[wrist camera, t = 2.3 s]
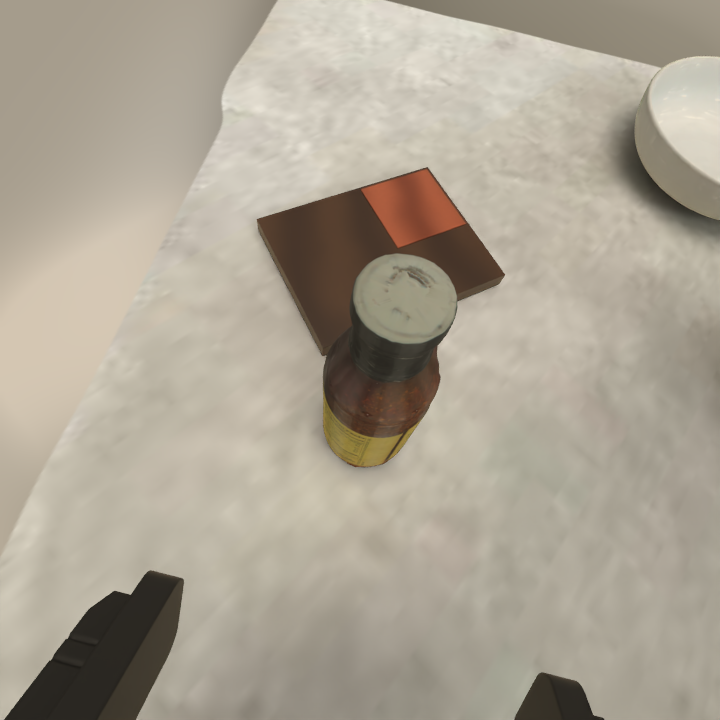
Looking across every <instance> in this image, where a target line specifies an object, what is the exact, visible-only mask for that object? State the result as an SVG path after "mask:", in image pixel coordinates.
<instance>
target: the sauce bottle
mask: <svg viewBox="0 0 720 720" xmlns="http://www.w3.org/2000/svg"><path fill="white" fill-rule="evenodd" d="M349 310H350V317H351V321H352V326H351V327H349V328H348V329H347V330H345V331H344V332H343V333H342V334H341V335H340V336H339V337H338V338H337V339H336V340H335V342H334V343H333V344H332V346H331V348H330V350H329V352H328V354H327V357H326V361H325V365H324V371H323V427H324V433H325V437H326V440H327V442H328V444H329V446H330V447H331V449H332V450H333V451H334V453H335V454H336V455H337V456H339V457H340V458H341V459H342V460H344V461H345V462H347V463H348V464H350V465H352V466H354V467H371V466H376V465H380V464H384V463H385V462H387V461H388V460H390V459H391V458H392V457H394V456H395V455H396V454H397V453H398V452H399V450H400V449H401V448H402V447H403V445H404V444H405V443H406V441H407V440H408V438H409V437H410V435H411V434H412V432H413V431H414V430H415V428H416V427H417V425H418V424H419V423H420V421H421V420H422V418H423V417H424V415H425V414H426V412H427V410H428V409H429V406H430V403H431V402H432V400H433V399H434V397H435V395H436V392H437V390H438V386H439V383H440V374H439V363H438V359H437V345H439V343H440V342H441V341H442V340H443V338H444V337H445V336H446V335H447V333H448V331H449V329H450V328H451V325H452V324H453V321H454V319H455V316H456V311H457V295H456V291H455V287H454V285H453V284H452V282H451V280H450V278H449V276H448V275H447V274H446V273H445V272H444V271H443V270H442V269H441V268H440V267H438V266H437V265H436V264H435V263H433V262H431V261H429V260H426V259H424V258H422V257H418V256H414V255H408V254H398V253H396V254H391V255H384V256H381V257H379V258H376V259H375V260H373V261H371V262H370V263H369V264H367V265H366V266H365V267H364V269H363V270H362V271H361V272H360V274H359V275H358V276H357V277H356V279H355V281H354V285H353V289H352V294H351V300H350V306H349Z"/></svg>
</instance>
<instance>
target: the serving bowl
mask: <svg viewBox="0 0 720 720" xmlns="http://www.w3.org/2000/svg"><path fill="white" fill-rule="evenodd" d="M635 142H636V147H637V151H638V154H639V157H640V159H641V162H642V164H643V165H644V167H645V169H646V171H647V172H648V174H649V175H650V176H651V178H652V179H653V180H654V181H655V182H656V183H657V184H658V186H659V187H660V188H661V189H662V190H663V191H665V192H666V193H667V194H668V195H669V196H670V197H672V198H673V199H674V200H676V201H677V202H679V203H680V204H682V205H684V206H685V207H687V208H689V209H691V210H693V211H695V212H697V213H699V214H702V215H704V216H707V217H710V218H713V219H716V220H720V57H713V56H697V57H689V58H684V59H680V60H677V61H674V62H672V63H670V64H668V65H666V66H665V67H663V68H662V69H661V70H660V71H658V72H657V74H656V75H655V76H654V77H653V79H652V80H651V82H650V84H649V86H648V87H647V89H646V91H645V93H644V95H643V98H642V100H641V102H640V105H639V108H638V111H637V115H636V120H635Z"/></svg>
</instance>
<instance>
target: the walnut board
mask: <svg viewBox="0 0 720 720" xmlns="http://www.w3.org/2000/svg"><path fill="white" fill-rule="evenodd" d="M257 224H258V230H259V232H260V234H261V236H262V238H263V240H264V242H265V244H266V246H267V248H268V250H269V252H270V254H271V256H272V258H273V260H274V262H275V264H276V266H277V268H278V270H279V272H280V274H281V275H282V277H283V279H284V281H285V283H286V285H287V287H288V289H289V291H290V293H291V295H292V297H293V299H294V301H295V303H296V305H297V307H298V309H299V311H300V313H301V315H302V317H303V319H304V320H305V322H306V324H307V326H308V328H309V330H310V332H311V334H312V336H313V338H314V340H315V342H316V344H317V346H318V348H319V350H320V352H321V354H322V356H324V355H326V354H328V352H329V350H330V348H331V346H332V344H333V343H334V342H335V340H336V339H337V338H338V337H339V336H340V335H341V334H342V333H343V332H344V331H345V330H347V329H348V328H349V327H351V326H352V321H351V317H350V310H349V306H350V300H351V294H352V289H353V285H354V281H355V279H356V277H357V276H358V275H359V274H360V272H361V271H362V270H363V269H364V267H365V266H366V265H367V264H369V263H370V262H371V261H373V260H375V259H376V258H379V257H381V256H384V255H391V254H396V253H398V254H408V255H414V256H418V257H422V258H424V259H426V260H429V261H431V262H433V263H435V264H436V265H437V266H438V267H440V268H441V269H442V270H443V271H444V272H445V273H446V274H447V275H448V276H449V278H450V280H451V282H452V284H453V285H454V287H455V291H456V295H457V301H459V300H461V299H464V298H466V297H468V296H471V295H473V294H476V293H478V292H481V291H483V290H486V289H488V288H490V287H493V286H495V285H498V284H499V283H500V282H501V280H502V279H503V277H504V276H505V274H504V273H503V271H502V270H501V268H500V267H499V266H498V264H497V263H496V261H495V260H494V259H493V257H492V256H491V254H490V253H489V252H488V250H487V249H486V248H485V246H484V245H483V243H482V242H481V241H480V239H479V238H478V236H477V235H476V234H475V232H474V231H473V230H472V228H471V227H470V225H469V224H468V223H467V221H466V220H465V218H464V217H463V216H462V214H461V213H460V211H459V210H458V209H457V207H456V206H455V205H454V203H453V202H452V200H451V199H450V198H449V196H448V195H447V193H446V192H445V191H444V189H443V188H442V187H441V185H440V184H439V182H438V181H437V180H436V178H435V177H434V175H433V174H432V173H431V171H430V170H429V169H428V167H427V168H423V169H420V170H417V171H413V172H410V173H407V174H404V175H400V176H397V177H394V178H390V179H387V180H384V181H381V182H377V183H374V184H371V185H367V186H364V187H361V188H358V189H354V190H351V191H348V192H344V193H341V194H338V195H335V196H331V197H328V198H325V199H321V200H318V201H315V202H312V203H308V204H305V205H302V206H299V207H295V208H292V209H289V210H285V211H282V212H279V213H276V214H272V215H269V216H266V217H262V218H259V219H257Z"/></svg>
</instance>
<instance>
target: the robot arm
mask: <svg viewBox="0 0 720 720" xmlns="http://www.w3.org/2000/svg"><path fill="white" fill-rule="evenodd" d="M183 586H184V580H183V578H179V577H175V576H171V575H167V574H163V573H159V572H155V571H148V572H147V573H146V574H145V575H144V577H143V578H142V579H141V581H140V582H139V584H138V585H137V587H136V588H135V590H134V591H133V593H132V594H131V595H129V594H125V593H121V592H117V591H113V592H112V593H111V594H109V595H108V596H106V597H105V598H104V599H102V600H101V601H100V602H98V603H97V604H95V605H94V606H93V607H91V608H90V609H89V610H88V611H87V612H86V614H85V615H84V616H83V617H82V619H81V620H80V621H79V623H78V624H77V625H76V627H75V628H74V629H73V631H72V632H71V633H70V636H69V638H68V639H66V640H65V641H64V642H63V644H62V645H61V646H60V648H59V649H58V650H57V651H56V653H55V654H54V656H53V658H52V660H51V661H49V662H48V663H47V664H46V666H45V667H44V668H43V670H42V671H41V672H40V674H39V675H38V676H37V678H36V679H35V680H34V681H33V683H32V684H31V685H30V687H29V688H28V689H27V691H26V692H25V693H24V694H23V696H22V697H21V698H20V700H19V701H18V702H17V704H16V705H15V706H14V708H13V709H12V710H11V711H10V713H9V714H8V715H7V717H6V718H5V719H4V720H136V718H137V716H138V714H139V712H140V710H141V708H142V706H143V704H144V702H145V700H146V698H147V696H148V694H149V692H150V690H151V689H152V687H153V685H154V683H155V681H156V679H157V677H158V675H159V673H160V671H161V669H162V667H163V665H164V663H165V661H166V659H167V657H168V655H169V653H170V650H171V648H172V645H173V642H174V639H175V636H176V633H177V629H178V622H179V615H180V608H181V600H182V593H183ZM515 720H604V719H603V718H601V717H597V716H594V715H593V713H592V711H591V708H590V705H589V703H588V700H587V697H586V695H585V692H584V690H583V688H582V686H581V685H580V684H579V683H578V682H577V681H574V680H570V679H566V678H562V677H559V676H555V675H551V674H547V673H539V674H538V676H537V677H536V679H535V681H534V683H533V684H532V686H531V688H530V690H529V692H528V694H527V695H526V697H525V699H524V701H523V703H522V705H521V707H520V708H519V710H518V712H517V714H516V716H515Z"/></svg>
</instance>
